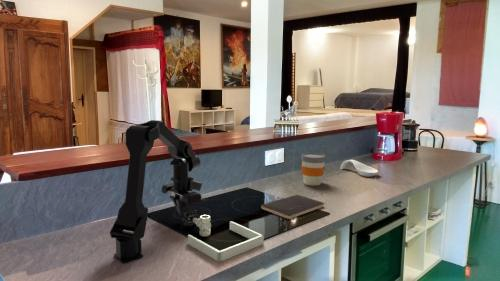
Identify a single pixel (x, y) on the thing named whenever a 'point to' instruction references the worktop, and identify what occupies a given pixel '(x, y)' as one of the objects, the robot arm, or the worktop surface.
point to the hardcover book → (292, 206)
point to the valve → (198, 222)
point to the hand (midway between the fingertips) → (181, 214)
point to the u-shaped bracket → (224, 254)
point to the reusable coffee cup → (312, 168)
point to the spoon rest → (360, 168)
